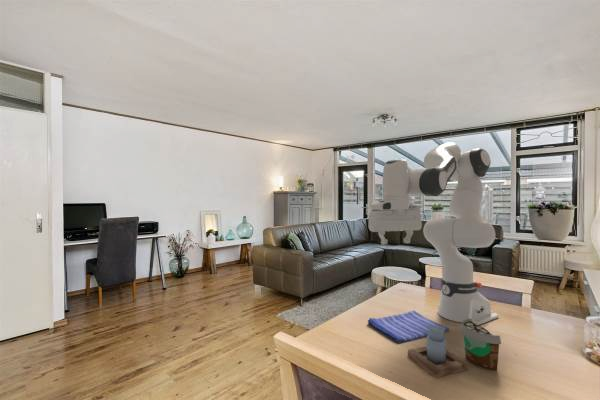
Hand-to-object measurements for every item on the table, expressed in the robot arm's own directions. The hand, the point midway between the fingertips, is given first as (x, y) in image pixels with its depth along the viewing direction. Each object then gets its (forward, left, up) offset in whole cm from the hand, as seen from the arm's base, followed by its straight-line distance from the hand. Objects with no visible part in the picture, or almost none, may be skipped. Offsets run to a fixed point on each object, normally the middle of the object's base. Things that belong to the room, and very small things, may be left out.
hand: (395, 243), depth 102 cm
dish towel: (-6, -2, -32) cm, 33 cm away
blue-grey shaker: (+1, +20, -31) cm, 37 cm away
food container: (-10, +23, -32) cm, 40 cm away
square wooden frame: (+1, +20, -31) cm, 37 cm away
